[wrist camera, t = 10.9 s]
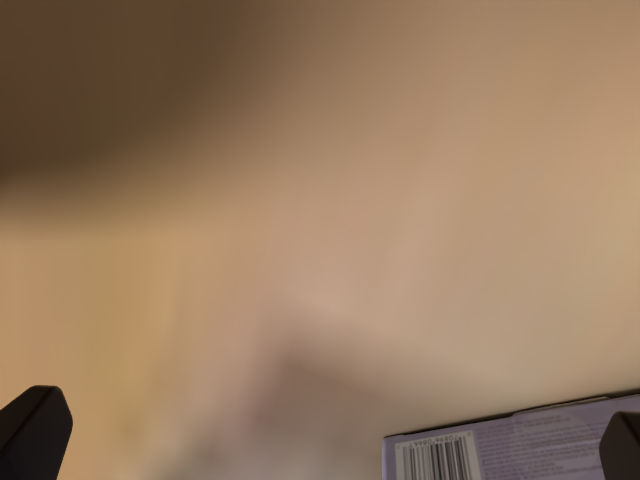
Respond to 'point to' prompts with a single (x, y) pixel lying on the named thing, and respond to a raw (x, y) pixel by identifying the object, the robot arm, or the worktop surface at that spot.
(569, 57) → the worktop surface
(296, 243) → the worktop surface
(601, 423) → the cake pan box
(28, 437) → the robot arm
